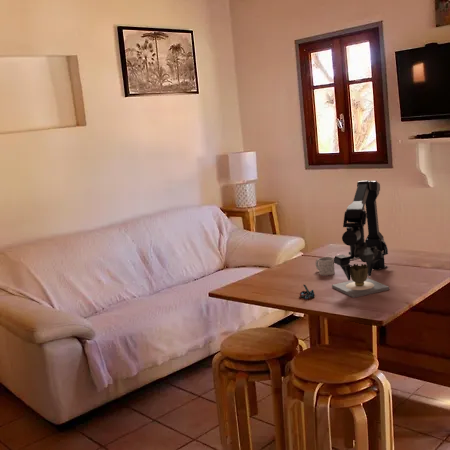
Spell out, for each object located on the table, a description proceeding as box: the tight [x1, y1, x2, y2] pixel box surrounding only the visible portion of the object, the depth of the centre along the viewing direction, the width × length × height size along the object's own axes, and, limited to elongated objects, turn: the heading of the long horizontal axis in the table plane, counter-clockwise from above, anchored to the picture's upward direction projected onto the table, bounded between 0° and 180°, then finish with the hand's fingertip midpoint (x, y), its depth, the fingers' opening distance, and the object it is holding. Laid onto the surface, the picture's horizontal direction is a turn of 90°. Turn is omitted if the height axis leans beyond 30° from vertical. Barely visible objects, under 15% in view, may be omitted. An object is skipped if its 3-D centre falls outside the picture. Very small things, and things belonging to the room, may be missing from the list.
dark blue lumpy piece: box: [298, 284, 316, 301], centre depth 229 cm, size 8×7×8 cm
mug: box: [315, 256, 336, 277], centre depth 259 cm, size 10×7×7 cm
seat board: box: [331, 277, 390, 299], centre depth 232 cm, size 16×16×1 cm
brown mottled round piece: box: [350, 263, 369, 286], centre depth 231 cm, size 8×7×8 cm
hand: (359, 277), depth 231 cm, fingers open, 9 cm apart
